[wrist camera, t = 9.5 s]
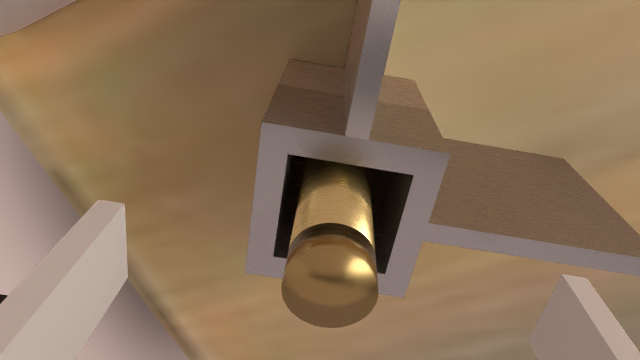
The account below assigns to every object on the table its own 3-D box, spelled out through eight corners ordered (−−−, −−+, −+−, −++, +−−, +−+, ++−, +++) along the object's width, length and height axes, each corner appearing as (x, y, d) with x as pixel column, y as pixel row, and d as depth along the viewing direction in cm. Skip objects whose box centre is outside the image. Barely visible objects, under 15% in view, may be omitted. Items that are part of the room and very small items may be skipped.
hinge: (676, -90, 20) (901, -108, 12) (539, 214, 27) (621, 331, 19) (318, -158, 19) (299, -225, 11) (275, 171, 26) (244, 272, 18)
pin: (370, 108, 24) (388, 261, 13) (359, 156, 26) (367, 334, 14) (317, 98, 24) (287, 244, 13) (309, 147, 26) (276, 319, 14)
